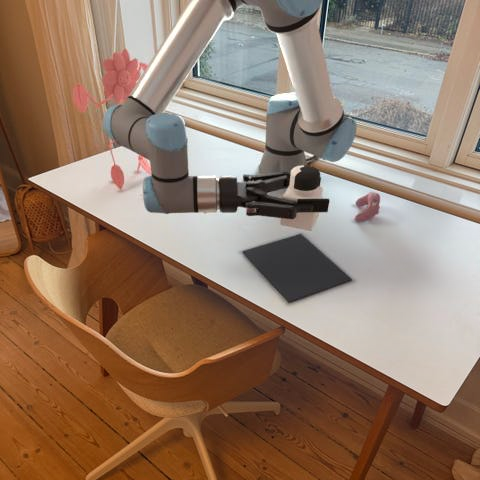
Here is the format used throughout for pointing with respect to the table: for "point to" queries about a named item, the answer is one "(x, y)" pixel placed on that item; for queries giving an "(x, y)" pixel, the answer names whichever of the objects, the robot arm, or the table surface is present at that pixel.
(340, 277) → the mat
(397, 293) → the table surface
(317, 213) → the medicine bottle
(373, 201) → the video game controller
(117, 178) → the figurine
